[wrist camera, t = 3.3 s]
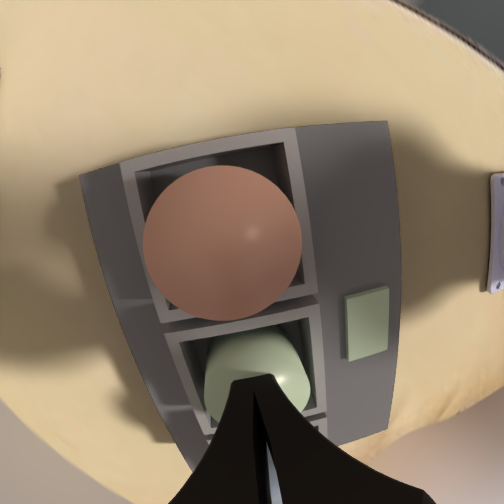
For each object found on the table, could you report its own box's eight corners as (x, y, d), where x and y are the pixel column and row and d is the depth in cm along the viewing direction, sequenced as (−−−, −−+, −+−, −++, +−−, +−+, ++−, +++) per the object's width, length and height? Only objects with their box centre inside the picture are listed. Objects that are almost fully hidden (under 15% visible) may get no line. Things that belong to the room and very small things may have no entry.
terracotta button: (271, 157, 9) (289, 152, 6) (289, 272, 10) (310, 304, 7) (151, 181, 9) (127, 185, 6) (178, 294, 9) (166, 331, 7)
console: (361, 127, 13) (415, 114, 8) (372, 404, 17) (400, 450, 13) (102, 174, 12) (53, 177, 8) (193, 443, 17) (191, 497, 12)
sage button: (290, 312, 11) (305, 345, 9) (299, 383, 12) (313, 420, 10) (195, 330, 11) (190, 367, 9) (217, 398, 12) (218, 438, 10)
